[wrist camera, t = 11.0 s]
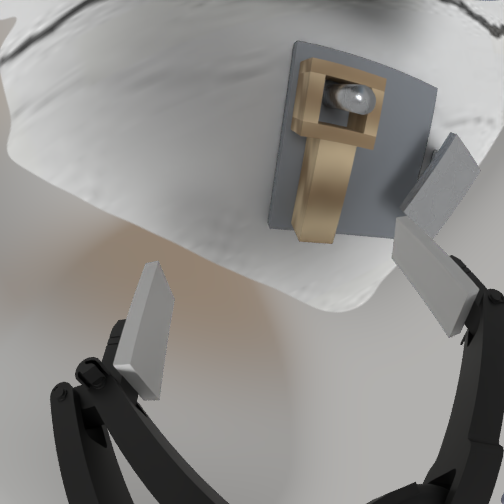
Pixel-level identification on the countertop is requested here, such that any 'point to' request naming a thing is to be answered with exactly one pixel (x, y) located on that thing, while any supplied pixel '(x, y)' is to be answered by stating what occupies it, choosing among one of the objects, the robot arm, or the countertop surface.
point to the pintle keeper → (435, 176)
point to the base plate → (365, 160)
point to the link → (328, 147)
